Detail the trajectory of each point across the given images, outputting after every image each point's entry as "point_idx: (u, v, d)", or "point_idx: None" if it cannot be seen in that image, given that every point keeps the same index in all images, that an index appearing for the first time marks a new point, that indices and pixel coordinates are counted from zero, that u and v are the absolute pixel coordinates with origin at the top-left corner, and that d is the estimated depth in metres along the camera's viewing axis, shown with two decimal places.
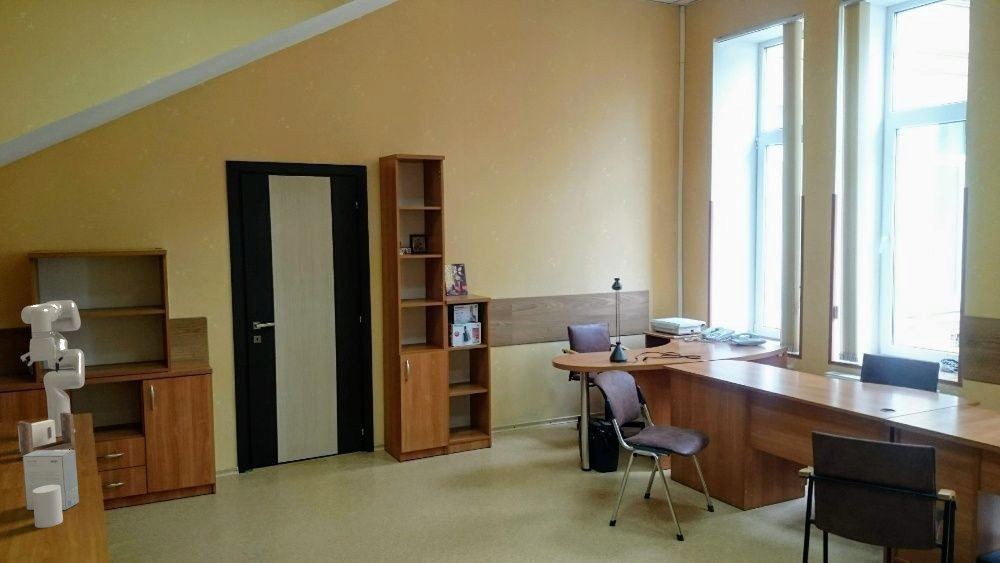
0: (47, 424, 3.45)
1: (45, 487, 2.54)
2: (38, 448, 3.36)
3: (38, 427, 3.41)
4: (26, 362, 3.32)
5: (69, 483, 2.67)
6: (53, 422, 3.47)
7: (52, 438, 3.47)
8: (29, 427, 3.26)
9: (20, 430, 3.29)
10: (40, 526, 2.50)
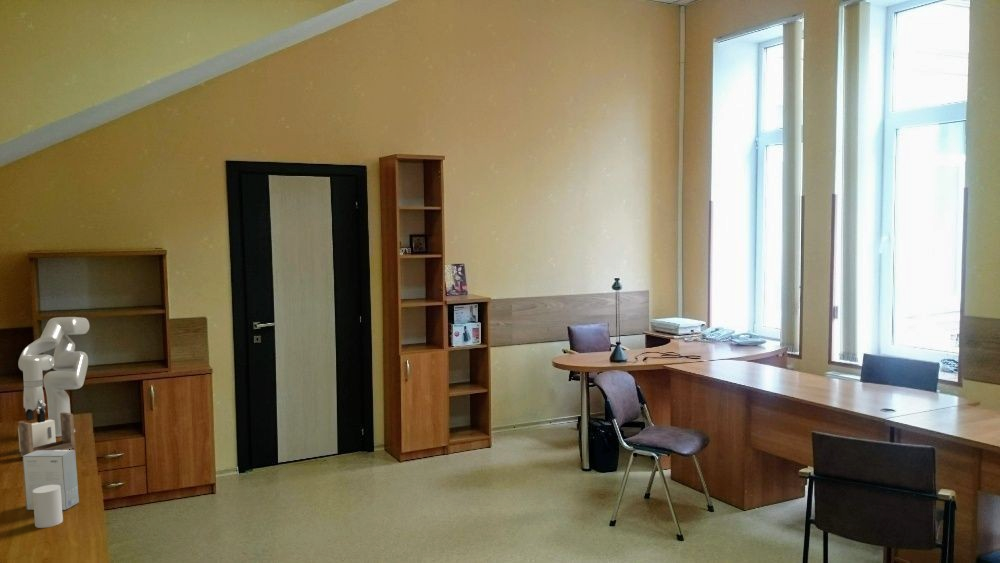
0: (47, 424, 3.45)
1: (45, 487, 2.54)
2: (38, 448, 3.36)
3: (38, 427, 3.41)
4: None
5: (69, 483, 2.67)
6: (53, 422, 3.47)
7: (52, 438, 3.47)
8: (29, 427, 3.26)
9: (20, 430, 3.29)
10: (40, 526, 2.50)
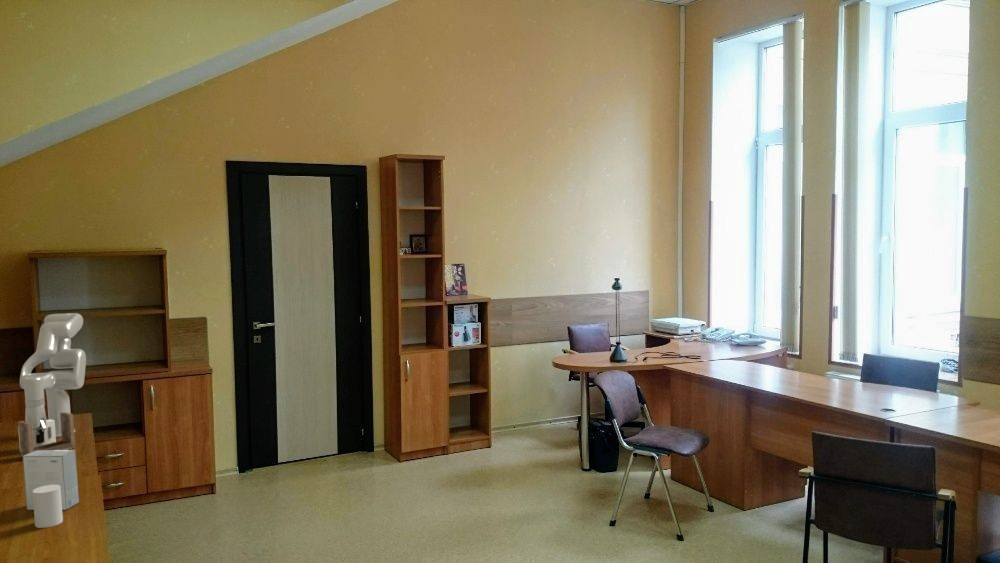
0: (47, 423, 3.45)
1: (45, 487, 2.54)
2: (38, 448, 3.36)
3: None
4: None
5: (69, 483, 2.67)
6: (53, 422, 3.47)
7: (52, 438, 3.47)
8: (29, 427, 3.26)
9: (20, 430, 3.29)
10: (40, 526, 2.50)
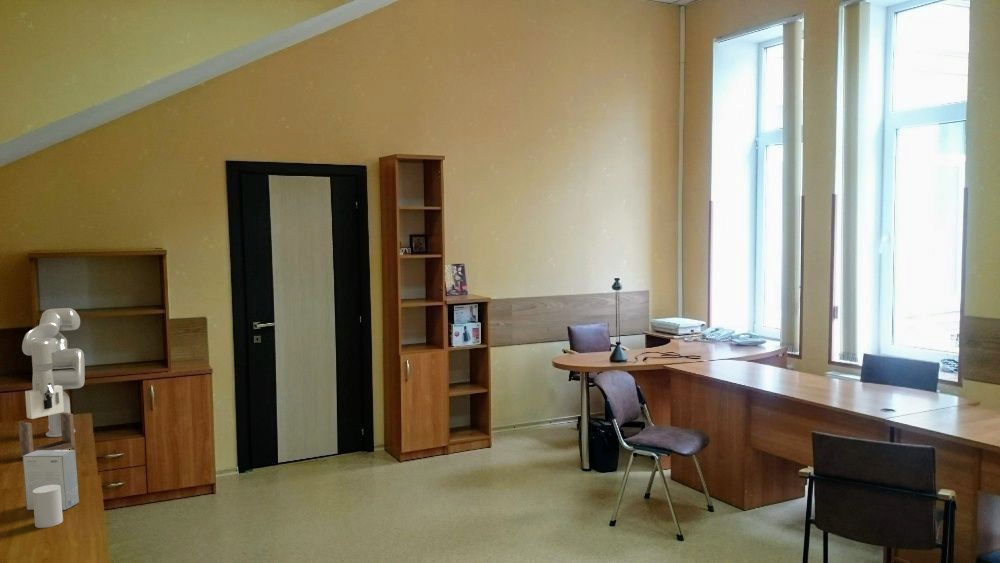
0: (55, 389, 3.37)
1: (45, 487, 2.54)
2: (38, 448, 3.36)
3: None
4: None
5: (69, 483, 2.67)
6: (61, 388, 3.39)
7: (60, 404, 3.39)
8: (29, 427, 3.26)
9: (20, 430, 3.29)
10: (40, 526, 2.50)
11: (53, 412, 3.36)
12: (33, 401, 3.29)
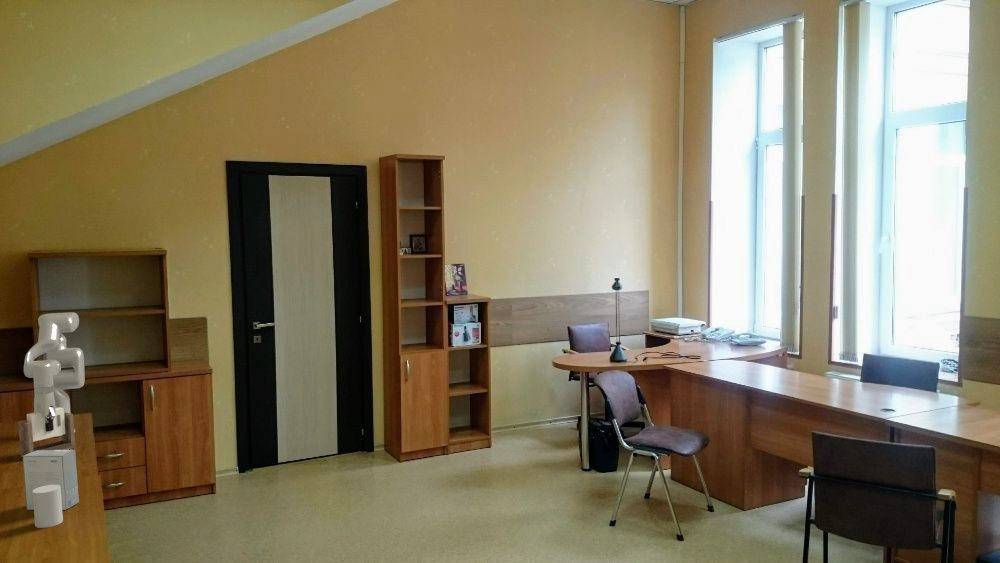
0: (56, 411, 3.38)
1: (45, 487, 2.54)
2: (38, 448, 3.36)
3: (47, 415, 3.34)
4: None
5: (69, 483, 2.67)
6: (62, 410, 3.40)
7: (61, 426, 3.39)
8: (29, 427, 3.26)
9: (20, 430, 3.29)
10: (40, 526, 2.50)
11: (54, 434, 3.37)
12: (35, 424, 3.30)
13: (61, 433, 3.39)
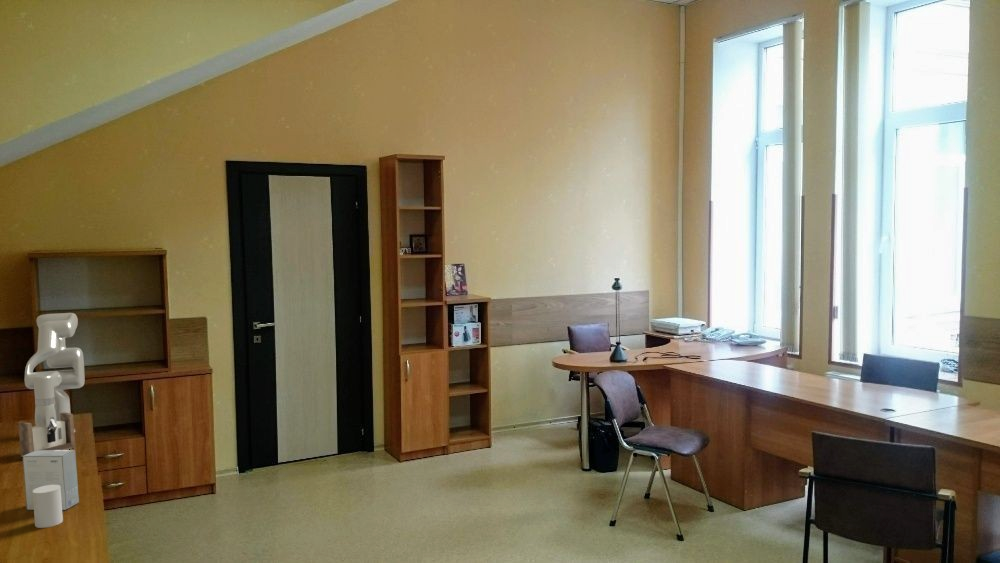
0: (58, 425, 3.38)
1: (45, 487, 2.54)
2: None
3: None
4: None
5: (69, 483, 2.67)
6: (63, 423, 3.40)
7: (62, 439, 3.40)
8: (29, 427, 3.26)
9: (20, 430, 3.29)
10: (40, 526, 2.50)
11: None
12: (36, 437, 3.30)
13: None
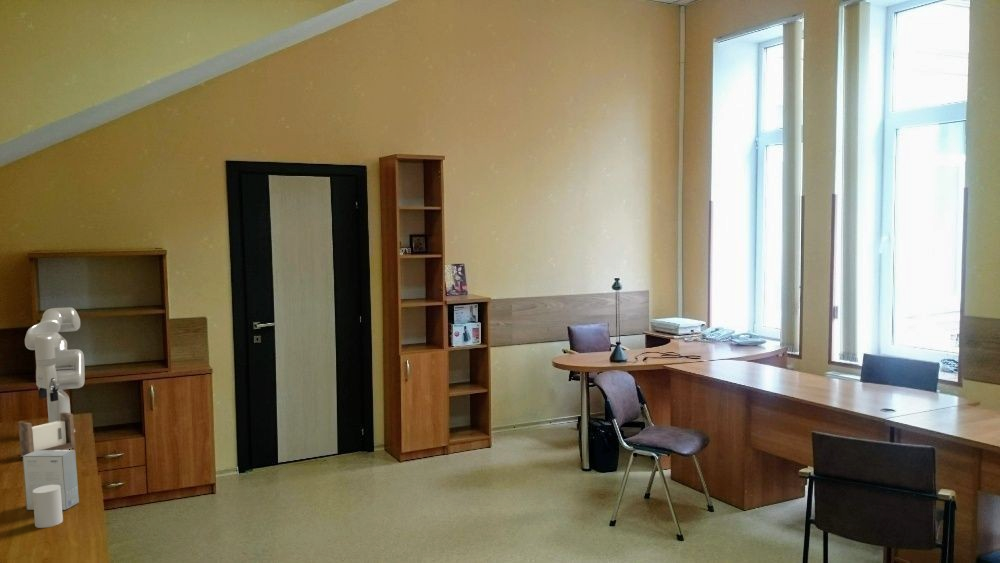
0: (58, 425, 3.38)
1: (45, 487, 2.54)
2: None
3: (48, 428, 3.35)
4: None
5: (69, 483, 2.67)
6: (63, 423, 3.40)
7: (62, 439, 3.40)
8: (29, 427, 3.26)
9: (20, 430, 3.29)
10: (40, 526, 2.50)
11: None
12: (36, 437, 3.30)
13: None
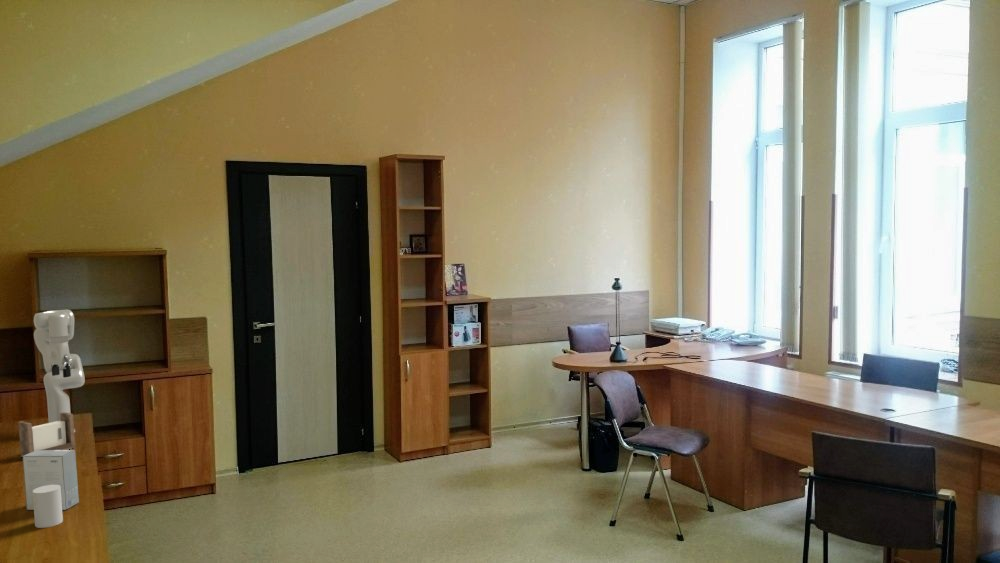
0: (58, 425, 3.38)
1: (45, 487, 2.54)
2: None
3: (48, 428, 3.35)
4: None
5: (69, 483, 2.67)
6: (63, 423, 3.40)
7: (62, 439, 3.40)
8: (29, 427, 3.26)
9: (20, 430, 3.29)
10: (40, 526, 2.50)
11: None
12: (36, 437, 3.30)
13: None
